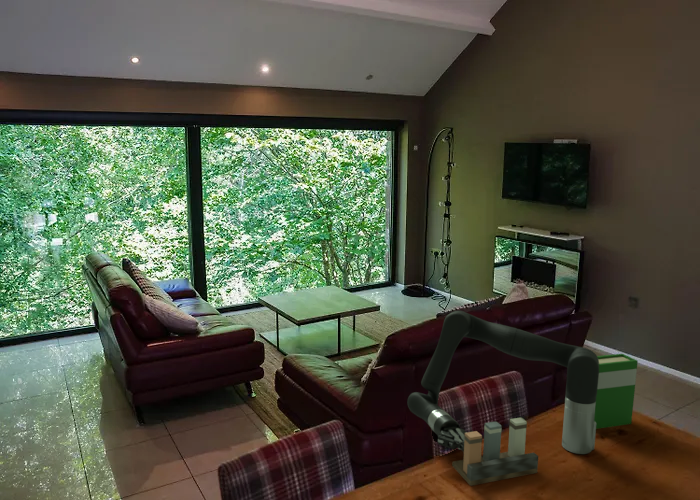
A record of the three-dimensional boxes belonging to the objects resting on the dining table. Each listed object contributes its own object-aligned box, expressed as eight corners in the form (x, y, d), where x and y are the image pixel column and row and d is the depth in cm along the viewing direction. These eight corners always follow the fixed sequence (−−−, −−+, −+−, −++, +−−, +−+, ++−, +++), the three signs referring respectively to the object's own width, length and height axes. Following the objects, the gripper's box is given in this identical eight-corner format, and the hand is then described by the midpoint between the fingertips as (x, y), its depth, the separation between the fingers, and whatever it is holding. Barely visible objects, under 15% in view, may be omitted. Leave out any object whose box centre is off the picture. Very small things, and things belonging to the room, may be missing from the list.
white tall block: (518, 452, 177) (520, 417, 175) (524, 457, 174) (526, 421, 172) (507, 454, 176) (509, 419, 174) (513, 459, 173) (515, 423, 171)
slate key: (494, 457, 175) (496, 421, 173) (499, 462, 172) (501, 425, 170) (482, 459, 173) (484, 423, 171) (488, 464, 170) (490, 427, 168)
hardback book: (590, 429, 197) (595, 365, 193) (576, 420, 204) (581, 357, 200) (631, 423, 201) (637, 360, 197) (616, 414, 208) (622, 353, 204)
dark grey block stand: (515, 454, 180) (517, 438, 179) (537, 472, 169) (538, 456, 168) (452, 465, 173) (452, 449, 172) (470, 485, 162) (471, 468, 161)
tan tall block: (474, 467, 168) (476, 430, 166) (480, 473, 165) (482, 435, 163) (462, 470, 167) (464, 432, 165) (468, 475, 164) (469, 437, 162)
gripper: (425, 417, 180) (450, 443, 164) (461, 411, 184) (490, 436, 168) (424, 438, 182) (449, 466, 165) (460, 432, 186) (488, 459, 169)
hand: (470, 451), depth 167 cm, fingers closed
